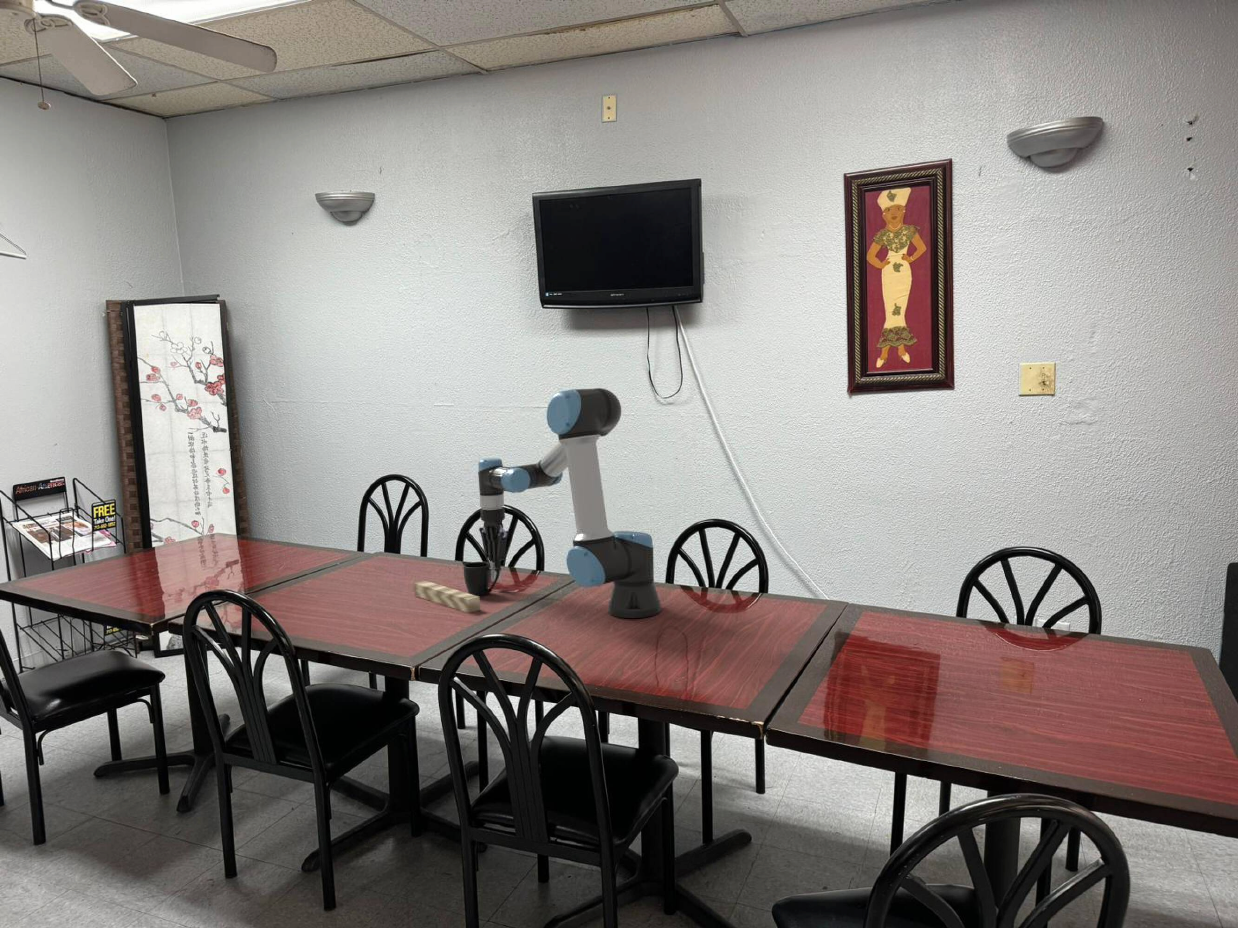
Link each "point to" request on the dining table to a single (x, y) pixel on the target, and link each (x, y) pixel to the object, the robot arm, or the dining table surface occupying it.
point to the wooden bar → (447, 596)
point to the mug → (479, 578)
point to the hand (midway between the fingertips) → (496, 580)
